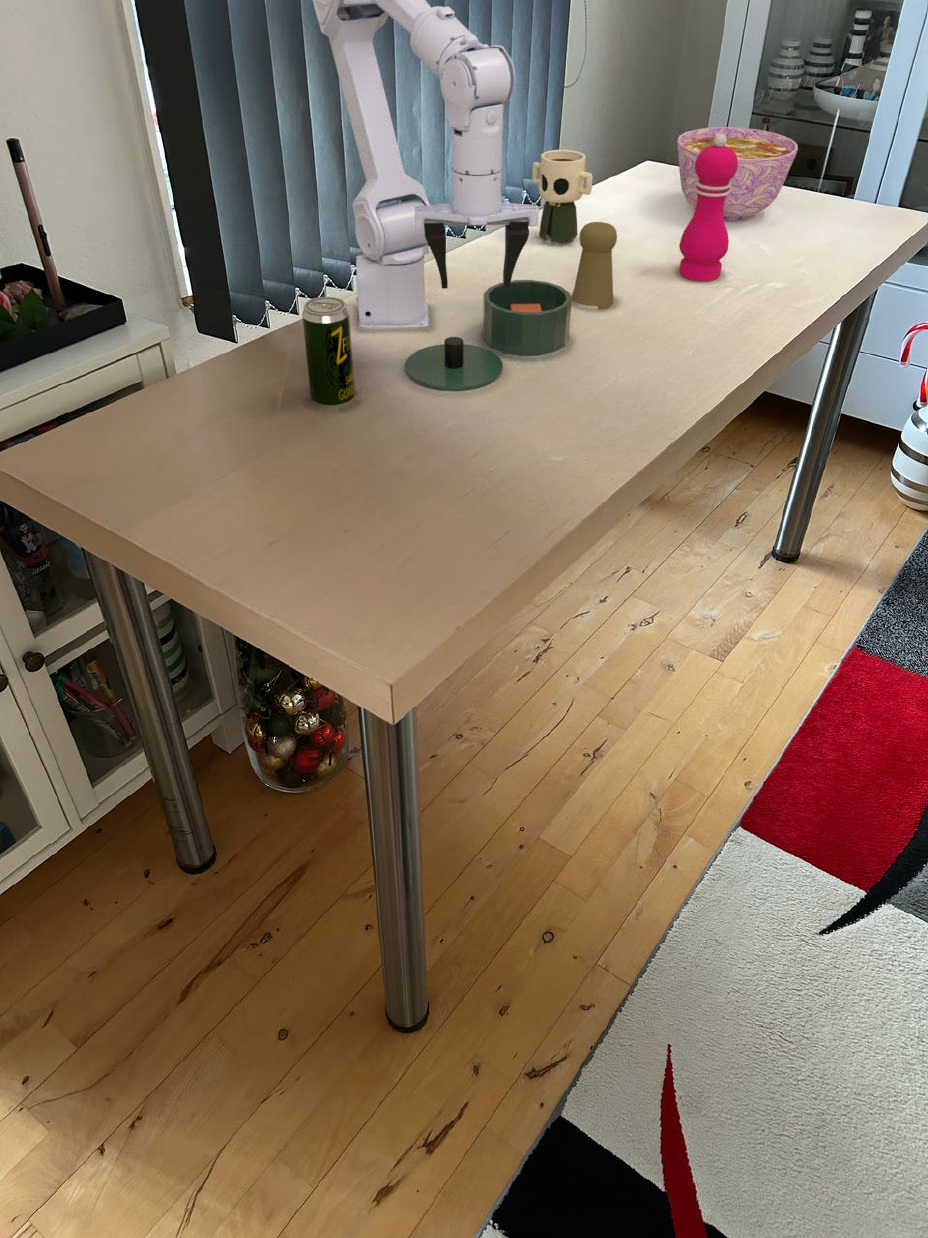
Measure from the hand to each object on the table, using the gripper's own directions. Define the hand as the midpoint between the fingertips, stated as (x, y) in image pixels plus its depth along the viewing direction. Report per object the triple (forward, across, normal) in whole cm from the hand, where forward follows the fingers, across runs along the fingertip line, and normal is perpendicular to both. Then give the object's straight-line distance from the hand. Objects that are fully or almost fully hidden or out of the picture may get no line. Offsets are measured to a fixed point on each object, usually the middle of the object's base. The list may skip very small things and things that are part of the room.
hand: (475, 284), depth 124 cm
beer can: (+11, -18, -9) cm, 23 cm away
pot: (+10, +7, +6) cm, 14 cm away
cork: (+11, +18, +19) cm, 29 cm away
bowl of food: (+11, +48, +57) cm, 75 cm away
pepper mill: (+11, +36, +29) cm, 48 cm away
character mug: (+11, +17, +45) cm, 49 cm away
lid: (+10, -3, -2) cm, 10 cm away
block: (+10, +7, +6) cm, 14 cm away
